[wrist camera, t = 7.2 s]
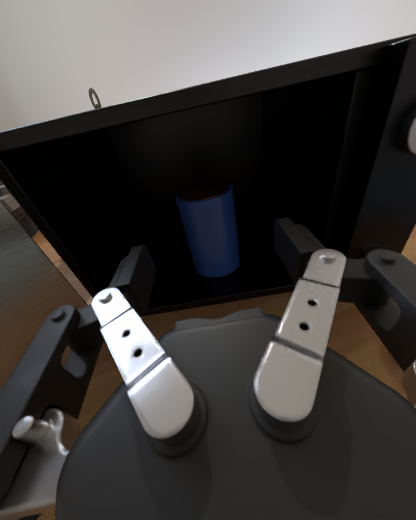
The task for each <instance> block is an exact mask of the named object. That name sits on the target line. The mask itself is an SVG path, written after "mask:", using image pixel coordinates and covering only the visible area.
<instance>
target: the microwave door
mask: <svg viewBox="0 0 416 520" xmlns="http://www.w3.org/2000/svg"><path fill="white" fill-rule="evenodd" d="M64 305H73V306H74V307H75V308H76V309H77V310H78V309H81V308H83V307H85V306H88V305H87V303H86V302H85V301H84V300H83V299H82V298H81V296H80V295H79V294H78V293H77V292H76V290H75V289H74V288H73V287H72V286H71V284H70V283H69V282H68V281H67V280H66V278H65V277H64V276H63V275H62V274H61V273H60V271H59V270H58V269H57V268H56V267H55V265H54V264H53V263H52V262H51V261H50V259H49V258H48V257H47V256H46V255H45V253H44V252H43V251H42V250H41V249H40V247H39V246H38V245H37V244H36V243H35V242H34V240H33V239H32V238H31V237H30V236H29V234H28V233H27V232H26V231H25V230H24V228H23V227H22V226H21V225H20V224H19V222H18V221H17V220H16V219H15V218H14V216H13V215H12V214H11V213H10V212H9V211H8V209H7V208H6V207H5V206H4V205H3V203H2V202H1V201H0V390H1V388H2V386H3V385H4V383H5V382H6V380H7V379H8V377H9V375H10V374H11V372H12V371H13V369H14V368H15V366H16V364H17V363H18V361H19V360H20V358H21V357H22V355H23V353H24V352H25V350H26V349H27V347H28V346H29V344H30V342H31V341H32V339H33V338H34V336H35V335H36V333H37V331H38V330H39V328H40V327H41V325H42V323H43V322H44V320H45V319H46V317H47V316H48V315H49V314H50V313H51V312H53V311H54V310H55V309H57V308H59V307H61V306H64ZM69 351H70V348H69V347H68V346H67V347H66V349H65V351H64V353H63V355H62V358H61V364H62V366H63V365H64V363H65V360H66V358H67V356H68V354H69Z"/></svg>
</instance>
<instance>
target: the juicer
mask: <svg viewBox="0 0 416 520" xmlns="http://www.w3.org/2000/svg"><path fill="white" fill-rule="evenodd" d="M0 201H1V202H2V203H3V205H4V206H5V207H6V208H7V209H8V211H9V212H10V213H11V214H12V215H13V216H14V218H15V219H16V220H17V221H18V222H19V224H20V225H21V226H22V227H23V228H24V230H25V231H26V232H27V233H28V234H29V236H30V237H32V236H33V235H34V234H35V233H36V232H37V231H38V230H39V229H38V228H37V226H36V225H35V224H34V223H33V221H32V220H31V219H30V218H29V216H28V215H27V214H26V213H25V211H24V210H23V209H22V207H21V206H20V205H19V204H18V202H17V201H16V200H15V199H14V197H13V196H12V195H11V194H10V192H9V191H8V190H7V188H6V187H5V186H4V185H3V183H2V182H1V181H0Z"/></svg>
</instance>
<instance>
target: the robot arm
mask: <svg viewBox="0 0 416 520" xmlns="http://www.w3.org/2000/svg"><path fill="white" fill-rule="evenodd" d="M274 247H275V250H276V252H277V254H278V256H279V257H280V259H281V261H282V263H283V264H284V266H285V268H286V270H287V271H288V273H289V275H290V277H291V278H292V280H293V282H294V284H295V285H296V287H295V289H294V291H293V294H292V296H291V298H290V301H289V303H288V305H287V307H286V310H285V312H284V314H283V317H282V318H281V317H279V316H276V315H272V314H264V313H263V311H262V308H261V307H258V308H252V309H246V310H240V311H237V312H235V313H232V314H230V315H227V316H225V317H222V318H220V319H208V318H192V319H186V320H180V321H175V328H174V329H172V330H170V331H168V332H167V333H165V334H164V335H162V336H161V337H160V338H159V339H158V340H156V339H155V337H154V336H153V335H152V333H151V332H150V331H149V329H148V328H147V326H146V325H145V324H144V322H143V321H142V320H141V318H140V317H139V315H140V314H146V313H147V309H148V304H149V300H150V296H151V291H152V287H153V282H154V278H155V273H156V269H155V264H154V262H153V260H152V258H151V255H150V253H149V251H148V249H147V247H146V245H140V246H134V247H132V248H131V251H130V253H129V255H128V256H126V257H125V258H124V259H123V260H122V261H121V262H120V264H119V266H118V269H117V270H116V273H115V274H114V277H113V279H112V281H111V283H110V285H109V287H108V288H107V289H104V290H102V291H101V292H99V293H98V294H97V295H96V296H95V297H94V298H93V300H92V302H91V304H90V305H88V306H85V307H83V308H81V309H78V310H77V309H76V308H75V307H74V306H73V305H64V306H61V307H59V308H57V309H55V310H54V311H53V312H51V313H50V314H49V315H48V316H47V317H46V319H45V320H44V322H43V323H42V325H41V327H40V328H39V330H38V331H37V333H36V335H35V336H34V338H33V339H32V341H31V342H30V344H29V346H28V347H27V349H26V350H25V352H24V353H23V355H22V357H21V358H20V360H19V361H18V363H17V364H16V366H15V368H14V369H13V371H12V372H11V374H10V375H9V377H8V379H7V380H6V382H5V383H4V385H3V386H2V388H1V390H0V520H37V519H38V517H39V516H40V515H41V514H42V513H46V512H50V511H55V510H56V520H416V265H415V264H414V263H412V262H411V261H410V260H408V259H407V258H406V257H404V256H403V255H401V254H399V253H397V252H394V251H390V250H373V251H371V252H369V253H368V254H367V257H366V259H348V258H346V257H345V256H344V255H343V254H342V253H341V252H339V251H336V250H333V249H326V248H325V247H324V246H323V245H322V243H321V242H320V241H319V240H318V239H317V238H316V237H314V235H313V234H312V233H310V231H309V230H308V229H307V228H306V227H305V226H303V225H301V224H299V223H297V224H294V223H293V222H292V221H291V219H290V218H289V217H285V218H280V219H275V221H274ZM391 297H392V298H393V299H394V300H395V301H396V302H397V304H398V305H399V306H398V305H397V304H396V302H395V301H394V300H393V299H392V298H391ZM337 301H339V302H350V303H354V304H355V305H356V307H357V308H358V310H359V311H360V312H361V314H362V315H363V316H364V318H365V319H366V321H367V322H368V323H369V325H370V326H371V327H372V329H373V330H374V332H375V333H376V334H377V336H378V337H379V338H380V340H381V341H382V342H383V344H384V345H385V347H386V348H387V349H388V351H389V352H390V353H391V355H392V356H393V358H394V359H395V360H396V362H397V363H398V364H399V366H400V367H401V369H402V370H403V371H404V373H403V374H402V377H401V384H402V387H403V389H404V391H405V393H406V395H407V398H408V400H409V401H408V400H407V399H405V398H404V397H403V396H402V395H401V394H399V393H398V392H396V391H395V390H394V389H392V388H391V387H389V386H387V385H386V384H384V383H383V382H381V381H380V380H378V379H377V378H375V377H374V376H372V375H371V374H369V373H368V372H366V371H364V370H363V369H361V368H360V367H358V366H357V365H355V364H354V363H352V362H351V361H349V360H348V359H346V358H345V357H343V356H342V355H340V354H338V353H337V352H335V351H334V350H332V349H331V348H329V347H328V346H327V342H328V338H329V334H330V330H331V325H332V321H333V317H334V313H335V308H336V304H337ZM104 342H106V343H107V346H108V348H109V350H110V352H111V354H112V356H113V358H114V360H115V363H116V365H117V367H118V369H119V371H120V373H121V375H122V377H123V380H124V381H123V382H122V383H121V384H120V386H119V387H118V388H117V389H116V390H115V392H114V393H113V394H112V395H111V397H110V398H109V399H108V400H107V402H106V403H105V404H104V405H103V406H102V408H101V409H100V410H99V411H98V413H97V414H96V415H95V416H94V417H93V419H92V420H91V421H90V422H89V424H88V425H87V426H86V427H85V428H84V430H83V431H82V432H81V433H80V424H79V421H78V417H79V413H80V410H81V407H82V404H83V401H84V398H85V395H86V392H87V389H88V386H89V383H90V380H91V377H92V373H93V370H94V367H95V364H96V361H97V358H98V355H99V352H100V349H101V346H102V343H104ZM67 346H68V347H69V348H70V351H69V354H68V356H67V358H66V360H65V363H64V365H63V366H62V364H61V358H62V355H63V353H64V351H65V349H66V347H67ZM79 434H80V435H79Z"/></svg>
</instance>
